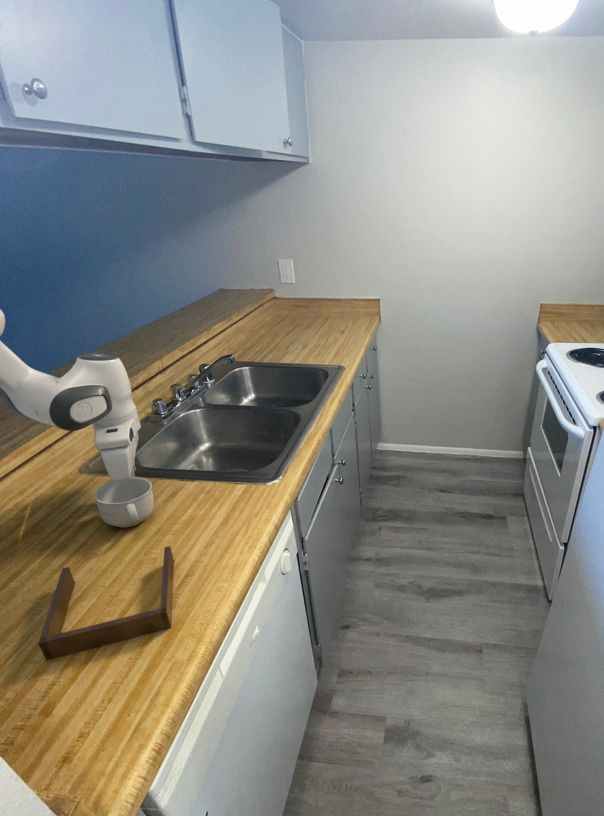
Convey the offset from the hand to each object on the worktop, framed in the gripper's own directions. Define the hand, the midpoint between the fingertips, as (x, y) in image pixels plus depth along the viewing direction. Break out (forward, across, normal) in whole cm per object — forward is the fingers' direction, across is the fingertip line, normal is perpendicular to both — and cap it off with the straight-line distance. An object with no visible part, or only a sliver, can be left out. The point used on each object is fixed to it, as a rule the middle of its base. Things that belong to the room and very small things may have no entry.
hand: (131, 475), depth 111 cm
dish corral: (+5, +35, 0) cm, 36 cm away
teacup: (+6, +11, 0) cm, 12 cm away
